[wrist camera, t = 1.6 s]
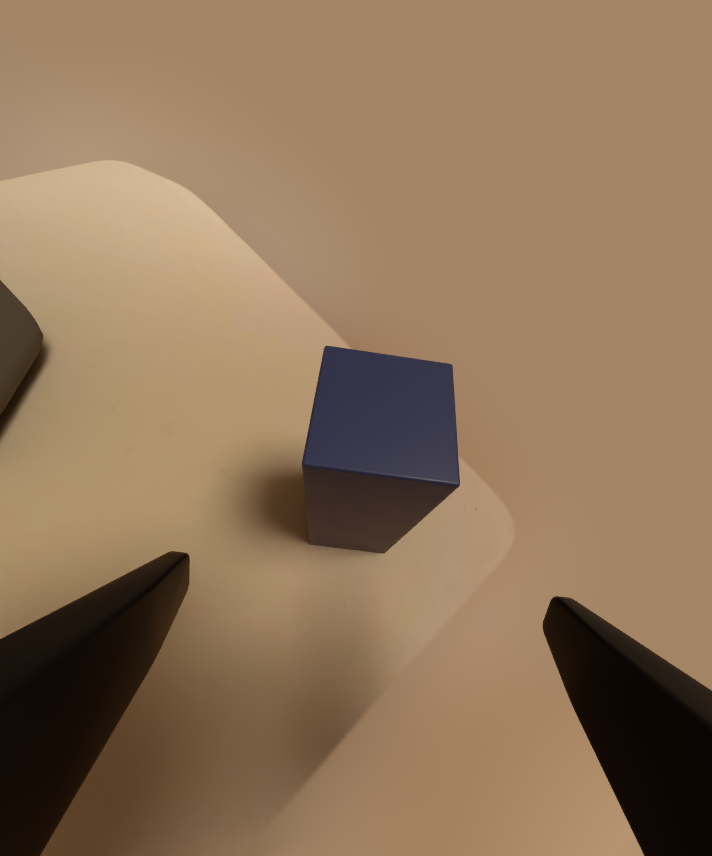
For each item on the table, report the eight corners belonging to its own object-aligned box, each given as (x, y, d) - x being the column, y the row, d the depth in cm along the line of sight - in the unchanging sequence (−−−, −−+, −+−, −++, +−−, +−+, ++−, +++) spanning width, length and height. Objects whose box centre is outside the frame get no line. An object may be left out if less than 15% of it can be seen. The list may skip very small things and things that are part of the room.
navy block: (385, 553, 20) (461, 486, 10) (308, 544, 20) (301, 465, 9) (388, 481, 22) (453, 363, 12) (320, 472, 22) (324, 344, 12)
